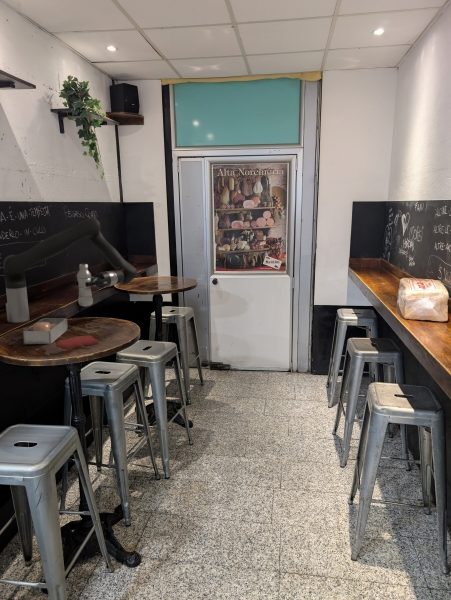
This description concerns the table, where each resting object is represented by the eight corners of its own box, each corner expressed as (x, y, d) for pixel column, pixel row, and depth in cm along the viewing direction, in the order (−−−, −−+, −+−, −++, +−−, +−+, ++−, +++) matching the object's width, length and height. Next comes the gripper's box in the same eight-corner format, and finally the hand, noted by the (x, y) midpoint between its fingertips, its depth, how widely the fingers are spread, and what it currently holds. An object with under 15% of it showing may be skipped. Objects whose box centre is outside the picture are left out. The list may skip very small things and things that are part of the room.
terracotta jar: (31, 342, 178) (30, 326, 176) (37, 337, 184) (36, 322, 183) (47, 342, 178) (46, 326, 177) (53, 337, 185) (51, 322, 183)
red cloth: (62, 353, 168) (61, 348, 167) (49, 344, 178) (49, 340, 177) (103, 344, 179) (102, 339, 179) (89, 336, 189) (89, 332, 189)
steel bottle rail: (24, 345, 176) (22, 331, 175) (44, 330, 197) (42, 318, 196) (51, 345, 176) (49, 331, 175) (67, 330, 197) (66, 318, 196)
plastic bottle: (88, 308, 197) (86, 265, 193) (75, 307, 199) (73, 265, 194) (95, 305, 204) (93, 263, 199) (83, 304, 205) (80, 263, 201)
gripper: (95, 270, 214) (69, 274, 199) (116, 272, 207) (91, 277, 193) (95, 285, 215) (70, 290, 201) (117, 287, 209) (92, 293, 194)
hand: (80, 284), depth 197 cm, fingers closed on plastic bottle, 6 cm apart
